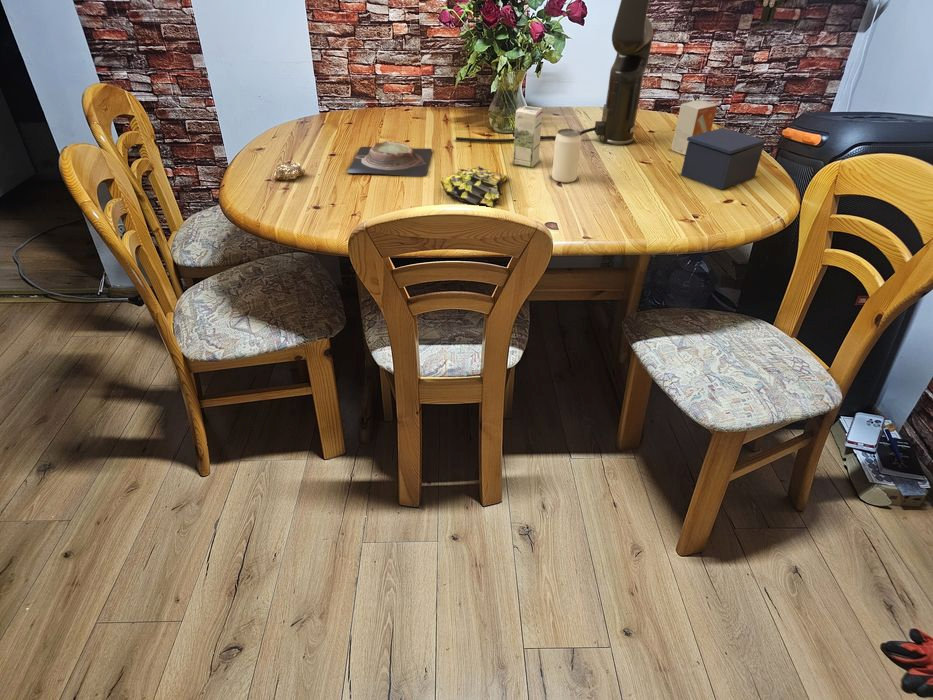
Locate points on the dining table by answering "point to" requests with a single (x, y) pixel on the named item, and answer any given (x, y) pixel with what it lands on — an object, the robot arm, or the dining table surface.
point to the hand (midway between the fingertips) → (765, 22)
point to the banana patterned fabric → (474, 186)
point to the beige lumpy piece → (288, 171)
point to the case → (720, 165)
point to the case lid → (726, 140)
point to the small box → (692, 122)
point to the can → (566, 155)
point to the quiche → (391, 160)
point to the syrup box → (527, 136)
